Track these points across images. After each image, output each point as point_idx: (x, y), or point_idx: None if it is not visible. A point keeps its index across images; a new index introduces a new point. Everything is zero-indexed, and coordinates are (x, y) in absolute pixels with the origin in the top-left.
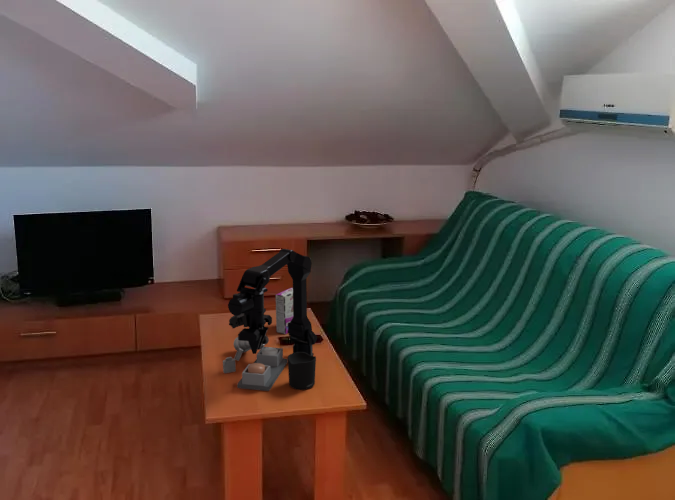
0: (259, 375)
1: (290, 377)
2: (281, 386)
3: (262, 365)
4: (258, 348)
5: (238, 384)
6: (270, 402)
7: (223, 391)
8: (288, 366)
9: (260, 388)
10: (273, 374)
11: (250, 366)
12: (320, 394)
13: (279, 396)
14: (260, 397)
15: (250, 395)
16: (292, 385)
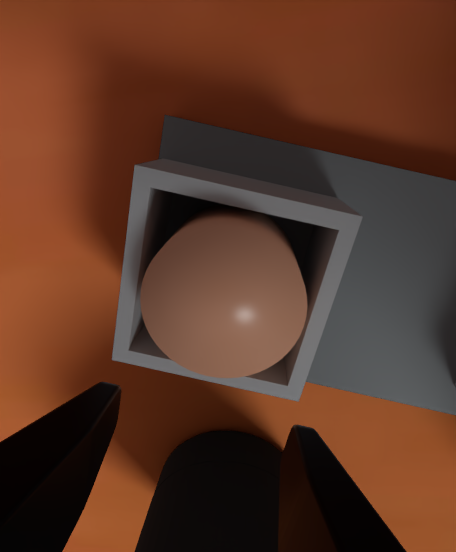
0: (120, 321)
1: (176, 486)
2: (207, 390)
3: (246, 359)
4: (284, 469)
5: (164, 126)
6: (4, 340)
7: (106, 4)
8: (187, 546)
9: None
10: (325, 364)
11: (222, 250)
12: (127, 539)
13: (82, 381)
14: (53, 285)
15: (70, 223)
16: (175, 455)
